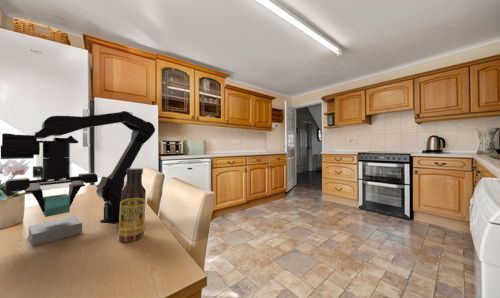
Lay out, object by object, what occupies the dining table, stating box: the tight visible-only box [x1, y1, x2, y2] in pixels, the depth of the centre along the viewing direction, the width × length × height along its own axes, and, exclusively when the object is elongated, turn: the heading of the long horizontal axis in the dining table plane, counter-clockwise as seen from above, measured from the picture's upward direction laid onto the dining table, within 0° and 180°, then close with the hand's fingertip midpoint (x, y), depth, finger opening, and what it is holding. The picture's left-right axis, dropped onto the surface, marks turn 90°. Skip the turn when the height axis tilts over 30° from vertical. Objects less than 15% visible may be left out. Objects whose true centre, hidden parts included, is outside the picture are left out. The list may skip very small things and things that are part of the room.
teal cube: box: [42, 193, 71, 218], centre depth 56 cm, size 5×5×5 cm
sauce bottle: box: [118, 167, 147, 243], centre depth 53 cm, size 7×6×20 cm
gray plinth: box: [28, 216, 83, 247], centre depth 56 cm, size 10×10×3 cm
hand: (56, 209), depth 56 cm, fingers closed on teal cube, 5 cm apart
